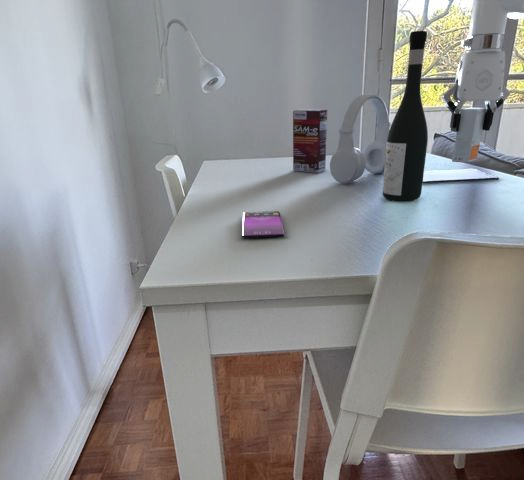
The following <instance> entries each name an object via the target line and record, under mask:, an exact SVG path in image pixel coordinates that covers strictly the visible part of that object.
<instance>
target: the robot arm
mask: <svg viewBox="0 0 524 480" xmlns="http://www.w3.org/2000/svg"><path fill="white" fill-rule="evenodd" d="M508 18H509V19H513V20H518V19H522V18H524V0H473V3H472V9H471V17H470V20H469V21H470V22H469V28H468V34H467V37H466V39H462V40H461V42H460V46H461V48H465V49H464V50H465V52H462V55H461V57H460V61H459V64H458V66H457V67H458V68H457V70H456V75H455V78H454V79H455V80H454V84H453V85H452V86H451V87H449V88H448V89H447V90H446V91H445V92H444V93H443V94H442V95H441V99H442V101H443V102H444V104H445V106H446V108H447V109H448V110H449V112H450V114H451V116H450V123H449V128H450V131H451V132H452V133H453V132H454V133H457V132H458V131H459V125H460V119H461V114H460V110H461V109H463V107H464V105H465V103H466V102H467V103H468V102H484V105H485V108H486V113H485V119H484V124H483V129H482V131H486V132H487V131H490V130H491V127H492V124H493V121H494V115H495V113H496V112H497V110H498V109H499V108H500V107H501V106H502V105H503V104H504V102H505V101H506V100H507V99H508V98H509V96H511V92H510V91H509V90H508V89H507V87H506V86H505V85H504V78H505V71H506V69H505V67H506V51H505V50H502V48H503V42H504V39H505V31H506V27H507V21H508ZM451 97H452V99H453V100H454V101H453V100H452V99H451Z"/></svg>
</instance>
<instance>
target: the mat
mask: <svg viewBox="0 0 524 480" xmlns="http://www.w3.org/2000/svg"><path fill="white" fill-rule="evenodd" d="M499 179H500V177H498V176H496V175H492V174H490V173H487V172H484V171H481V170H479V169H476V168H458V169H456V168H455V169H437V170H424V175H423V183H422V185H423V184H439V183H440V184H442V183H461V182H480V181H497V180H499Z"/></svg>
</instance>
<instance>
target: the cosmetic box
mask: <svg viewBox="0 0 524 480" xmlns="http://www.w3.org/2000/svg"><path fill="white" fill-rule="evenodd" d="M486 110H487V109H486V107H466V108H461V110H460V113H459V114H461V119H460V125H459V131H458V132H455V133H456V134H455V140H454V146H453V152H452V158H451V162H452V163H464V164H468V163H471V162H475V161H477V160H478V155H479V150H480V146H481V145H480V144H481V140H482V134H483V130H482V129H483V124H484V119H485V113H486Z"/></svg>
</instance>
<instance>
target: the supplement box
mask: <svg viewBox="0 0 524 480" xmlns="http://www.w3.org/2000/svg"><path fill="white" fill-rule="evenodd" d="M327 135H328V109H304V108H303V109H295V110H293V111H292V147H293V149H292V153H293V154H292V171H293V172H301V173H302V172H303V173H304V172H305V173H316V174H320V173H322V172H326V166H327V165H326V161H327Z"/></svg>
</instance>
